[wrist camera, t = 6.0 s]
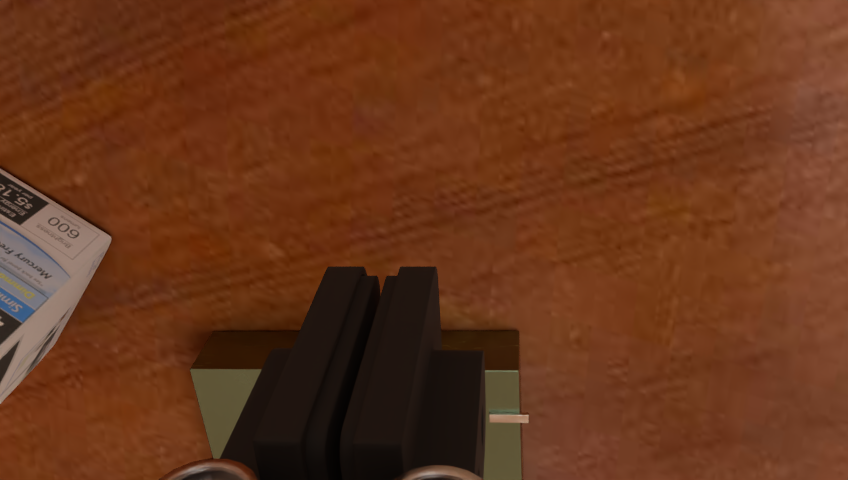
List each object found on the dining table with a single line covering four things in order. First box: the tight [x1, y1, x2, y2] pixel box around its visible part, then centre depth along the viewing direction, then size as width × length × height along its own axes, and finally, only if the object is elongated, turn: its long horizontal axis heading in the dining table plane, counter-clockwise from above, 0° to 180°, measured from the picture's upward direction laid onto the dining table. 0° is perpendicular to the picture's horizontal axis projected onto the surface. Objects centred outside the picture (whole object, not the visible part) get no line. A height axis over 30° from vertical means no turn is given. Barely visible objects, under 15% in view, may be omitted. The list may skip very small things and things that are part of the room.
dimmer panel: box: [190, 331, 529, 480], centre depth 31 cm, size 12×12×3 cm
